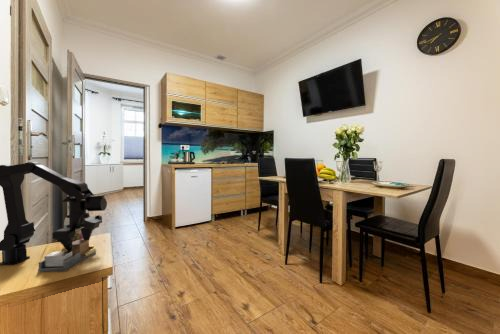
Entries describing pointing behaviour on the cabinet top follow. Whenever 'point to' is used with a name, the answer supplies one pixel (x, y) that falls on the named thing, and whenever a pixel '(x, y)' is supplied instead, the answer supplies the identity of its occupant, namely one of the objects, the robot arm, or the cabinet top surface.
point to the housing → (80, 247)
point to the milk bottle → (77, 233)
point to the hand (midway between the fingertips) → (78, 247)
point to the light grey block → (57, 258)
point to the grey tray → (67, 262)
